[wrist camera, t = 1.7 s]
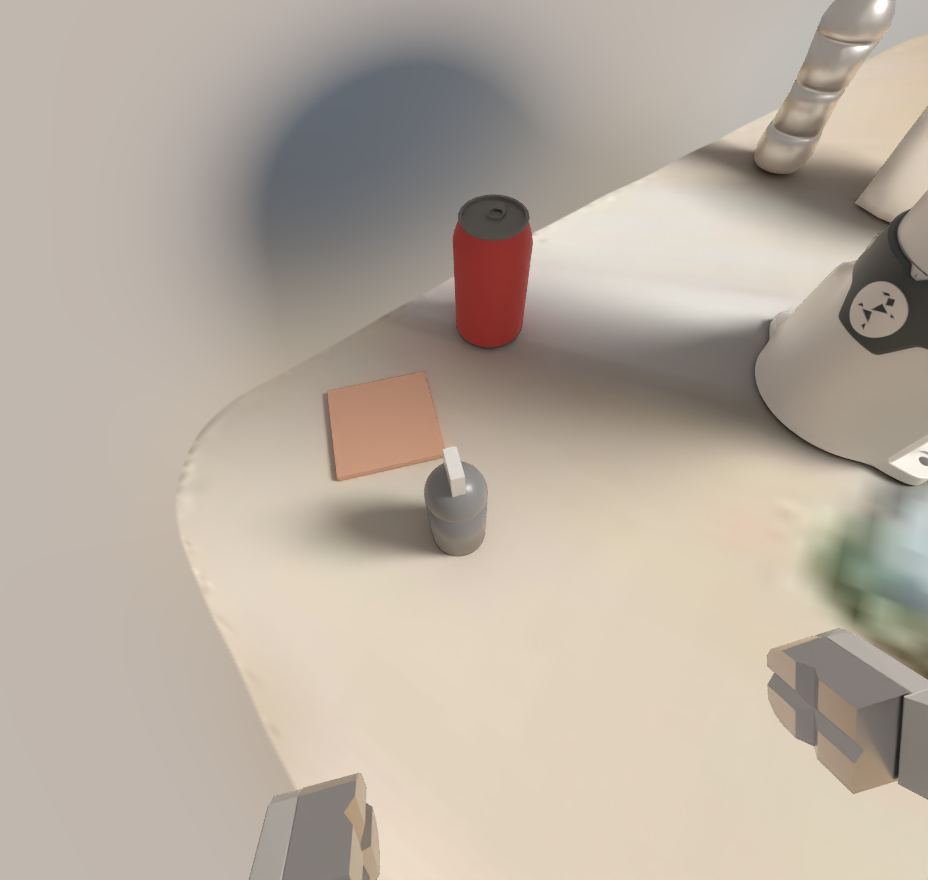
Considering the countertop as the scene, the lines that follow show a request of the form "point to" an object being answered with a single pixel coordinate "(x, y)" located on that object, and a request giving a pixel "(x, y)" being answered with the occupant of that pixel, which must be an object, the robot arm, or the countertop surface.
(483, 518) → the grey pump bottle
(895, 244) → the robot arm
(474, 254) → the beer can
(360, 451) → the tile
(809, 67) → the plastic bottle
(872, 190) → the white rounded block
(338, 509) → the countertop surface
